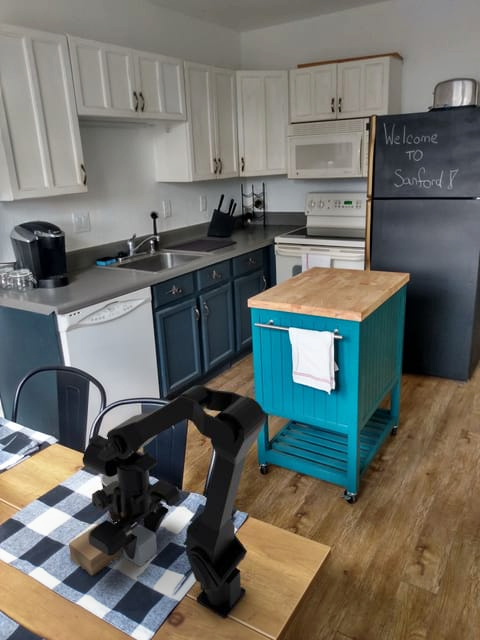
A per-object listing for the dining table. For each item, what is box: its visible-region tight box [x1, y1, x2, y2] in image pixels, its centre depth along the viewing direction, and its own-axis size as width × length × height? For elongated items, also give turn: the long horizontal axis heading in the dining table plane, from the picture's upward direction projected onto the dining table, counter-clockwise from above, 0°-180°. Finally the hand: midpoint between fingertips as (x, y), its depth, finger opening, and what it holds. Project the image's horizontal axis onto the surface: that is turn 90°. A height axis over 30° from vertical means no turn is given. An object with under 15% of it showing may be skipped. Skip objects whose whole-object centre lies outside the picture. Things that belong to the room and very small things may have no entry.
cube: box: [122, 524, 158, 568], centre depth 95 cm, size 4×4×4 cm
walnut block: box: [68, 522, 123, 577], centre depth 95 cm, size 7×7×4 cm
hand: (140, 550), depth 96 cm, fingers closed on cube, 4 cm apart
